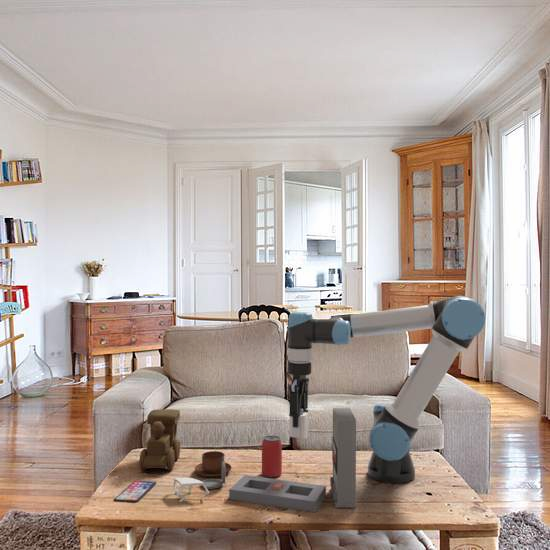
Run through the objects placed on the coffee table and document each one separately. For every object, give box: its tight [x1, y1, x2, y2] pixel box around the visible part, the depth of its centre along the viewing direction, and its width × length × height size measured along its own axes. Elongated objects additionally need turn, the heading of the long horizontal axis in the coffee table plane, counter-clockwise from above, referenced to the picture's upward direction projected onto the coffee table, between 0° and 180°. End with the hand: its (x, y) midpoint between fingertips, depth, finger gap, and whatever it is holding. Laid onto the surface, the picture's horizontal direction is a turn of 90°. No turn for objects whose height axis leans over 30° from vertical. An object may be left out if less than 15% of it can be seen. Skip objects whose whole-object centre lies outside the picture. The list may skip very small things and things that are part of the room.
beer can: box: [261, 435, 283, 478], centre depth 184 cm, size 7×7×12 cm
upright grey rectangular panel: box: [329, 407, 357, 509], centre depth 165 cm, size 14×6×25 cm, turn 0°
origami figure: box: [173, 477, 210, 503], centre depth 166 cm, size 12×8×5 cm
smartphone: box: [113, 480, 157, 504], centre depth 170 cm, size 8×1×15 cm
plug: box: [288, 408, 309, 439], centre depth 178 cm, size 5×4×8 cm
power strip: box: [228, 474, 327, 513], centre depth 166 cm, size 26×12×4 cm, turn 71°
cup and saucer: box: [194, 450, 232, 478], centre depth 186 cm, size 12×12×6 cm
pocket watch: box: [200, 452, 227, 490], centre depth 175 cm, size 8×8×10 cm
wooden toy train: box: [138, 408, 181, 472], centre depth 194 cm, size 20×11×17 cm, turn 0°
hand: (298, 434), depth 178 cm, fingers closed on plug, 4 cm apart
